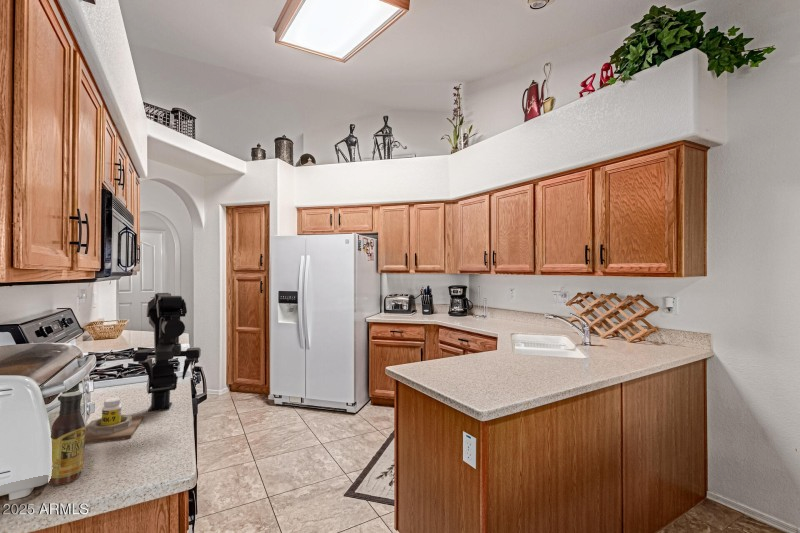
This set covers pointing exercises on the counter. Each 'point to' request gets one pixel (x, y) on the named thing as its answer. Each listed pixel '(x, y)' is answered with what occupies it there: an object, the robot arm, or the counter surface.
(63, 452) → the sauce bottle
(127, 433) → the brown board with ring
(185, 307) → the robot arm
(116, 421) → the supplement bottle
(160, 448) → the counter surface
